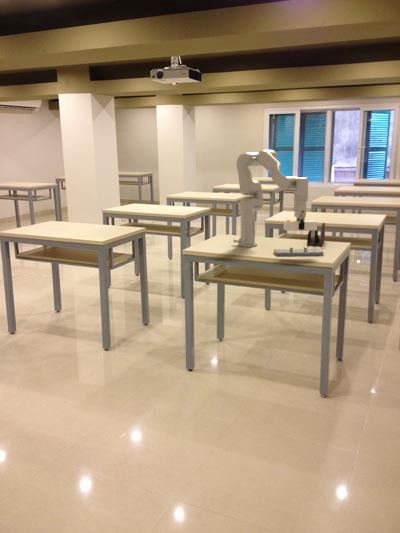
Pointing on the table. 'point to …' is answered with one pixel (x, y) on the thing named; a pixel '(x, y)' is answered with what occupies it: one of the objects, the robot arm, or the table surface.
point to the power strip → (295, 225)
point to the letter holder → (316, 237)
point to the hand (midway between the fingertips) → (300, 228)
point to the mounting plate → (298, 252)
